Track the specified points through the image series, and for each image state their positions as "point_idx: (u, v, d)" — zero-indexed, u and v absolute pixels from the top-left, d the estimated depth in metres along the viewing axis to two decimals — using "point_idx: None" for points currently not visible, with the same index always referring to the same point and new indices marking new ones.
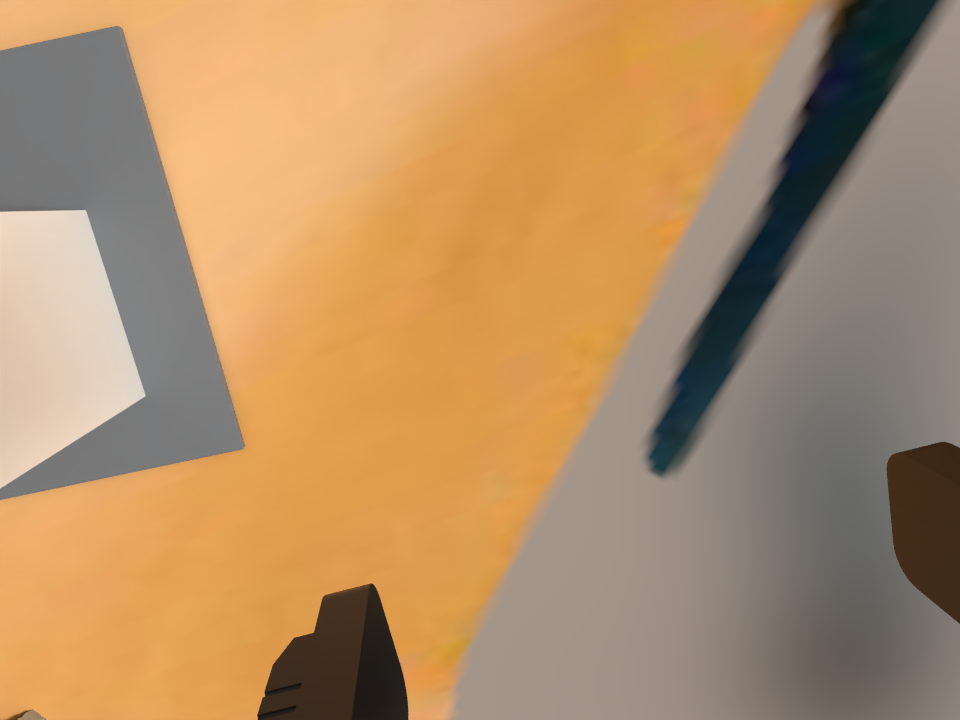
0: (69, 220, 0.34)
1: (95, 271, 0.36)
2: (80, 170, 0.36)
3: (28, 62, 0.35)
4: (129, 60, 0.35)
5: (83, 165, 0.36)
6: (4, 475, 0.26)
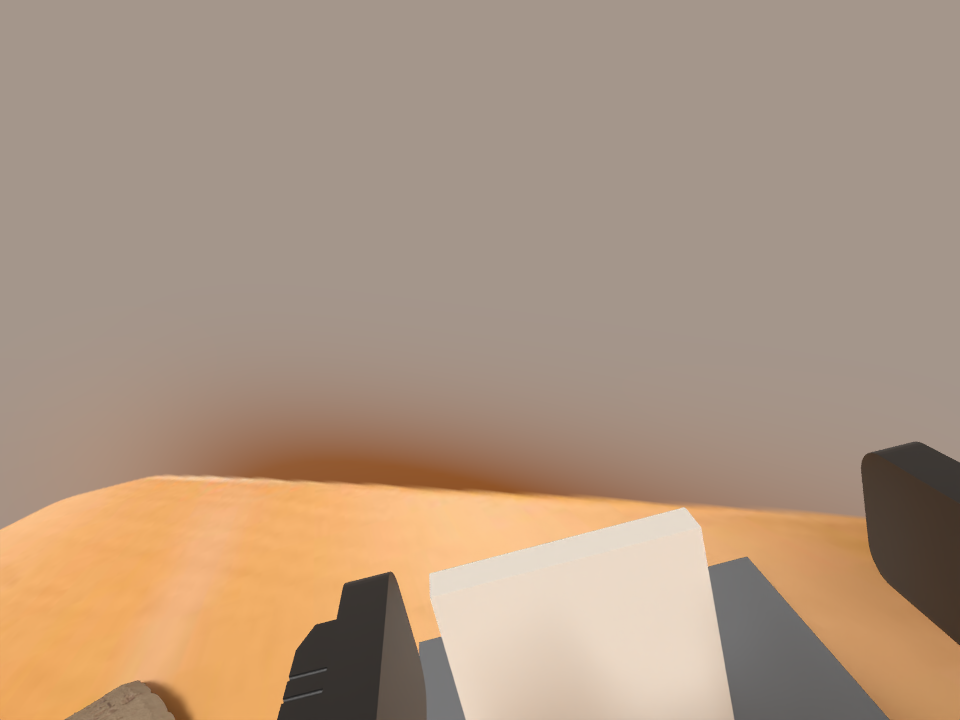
0: None
1: None
2: None
3: None
4: None
5: None
6: (451, 636, 0.26)
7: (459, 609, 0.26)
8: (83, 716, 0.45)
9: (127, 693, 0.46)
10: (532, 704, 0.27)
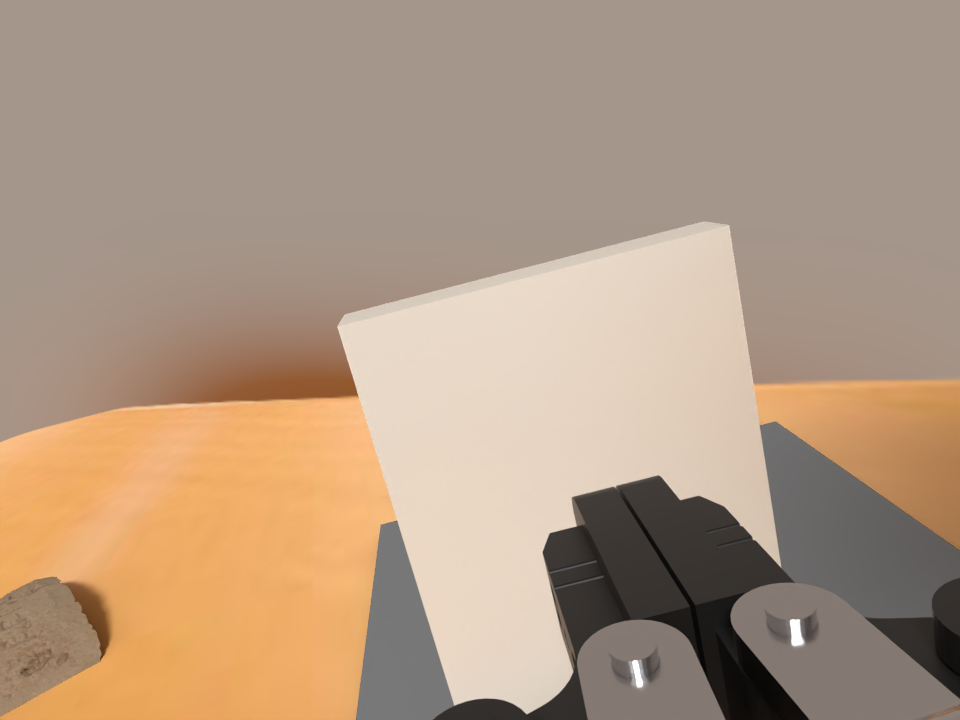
0: None
1: None
2: None
3: None
4: None
5: None
6: (370, 388, 0.18)
7: (380, 346, 0.18)
8: None
9: (32, 585, 0.38)
10: (490, 496, 0.19)
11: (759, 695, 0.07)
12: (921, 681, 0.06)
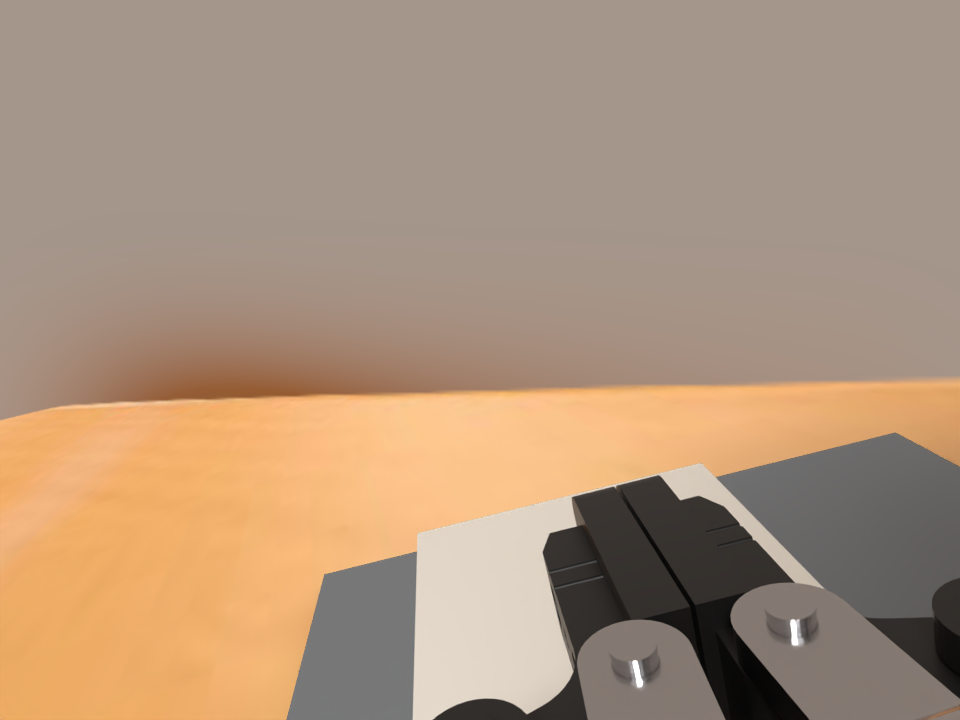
0: None
1: None
2: None
3: None
4: None
5: None
6: (427, 556, 0.23)
7: (443, 537, 0.24)
8: None
9: None
10: (508, 607, 0.19)
11: (759, 695, 0.07)
12: (921, 681, 0.06)
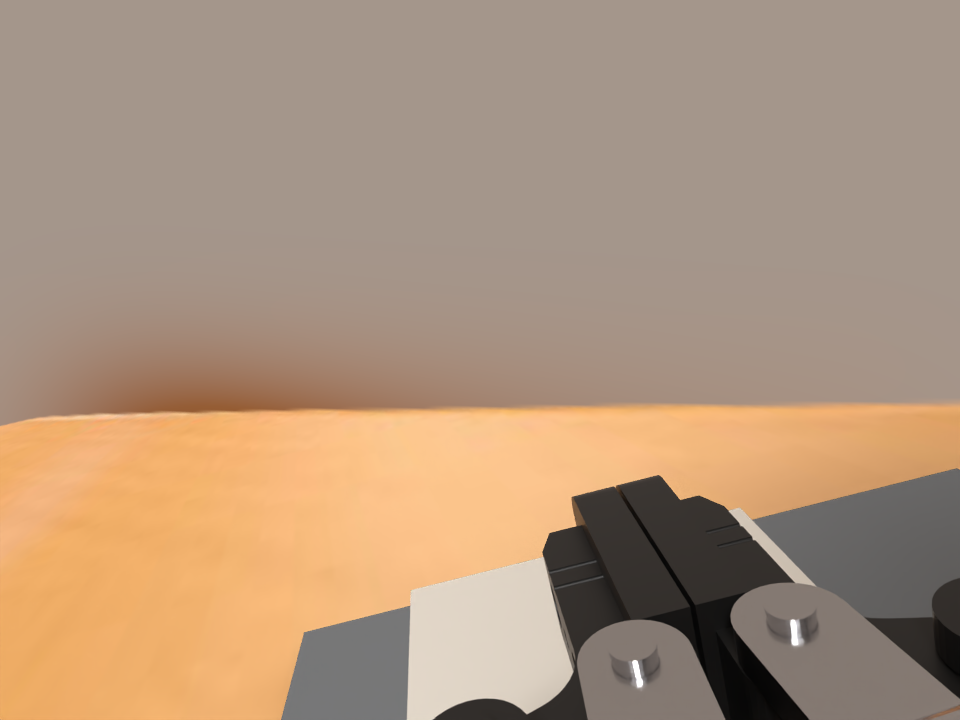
0: None
1: None
2: None
3: None
4: None
5: None
6: (421, 622, 0.19)
7: (440, 597, 0.20)
8: None
9: None
10: (519, 699, 0.16)
11: (759, 695, 0.07)
12: (920, 681, 0.06)
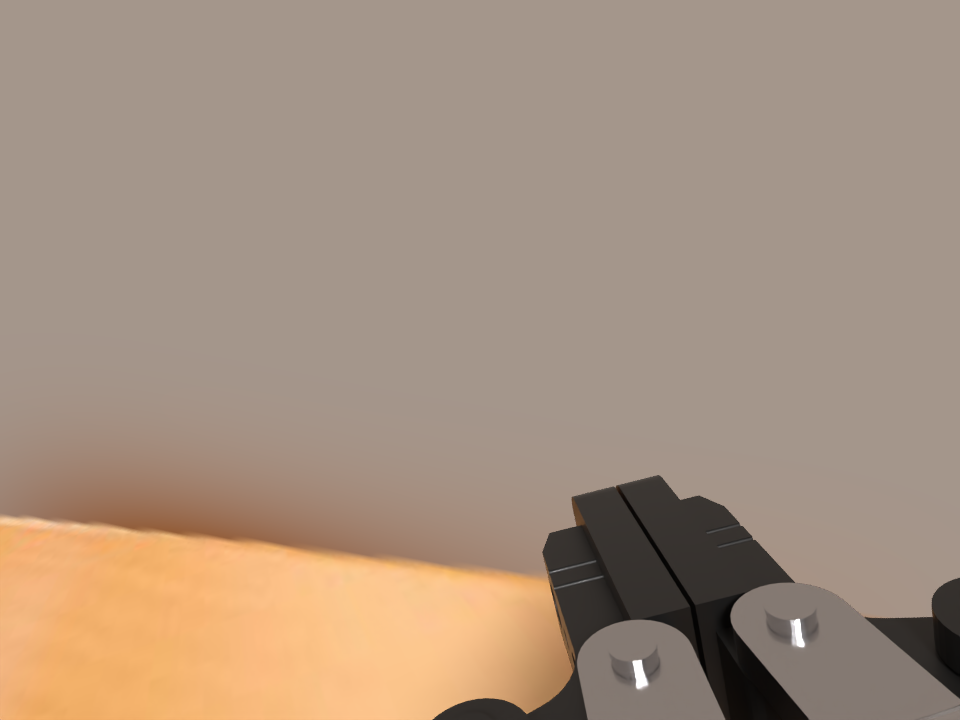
0: None
1: None
2: None
3: None
4: None
5: None
6: None
7: None
8: None
9: None
10: None
11: (759, 695, 0.07)
12: (921, 680, 0.06)
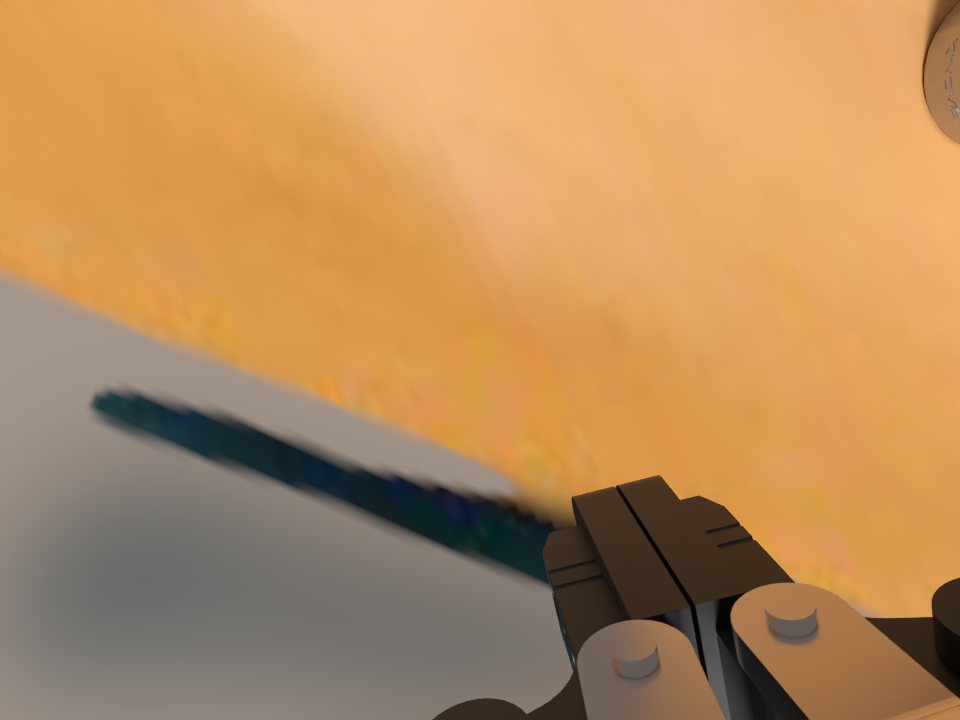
0: None
1: None
2: None
3: None
4: None
5: None
6: None
7: None
8: None
9: None
10: None
11: (759, 695, 0.07)
12: (921, 680, 0.06)
